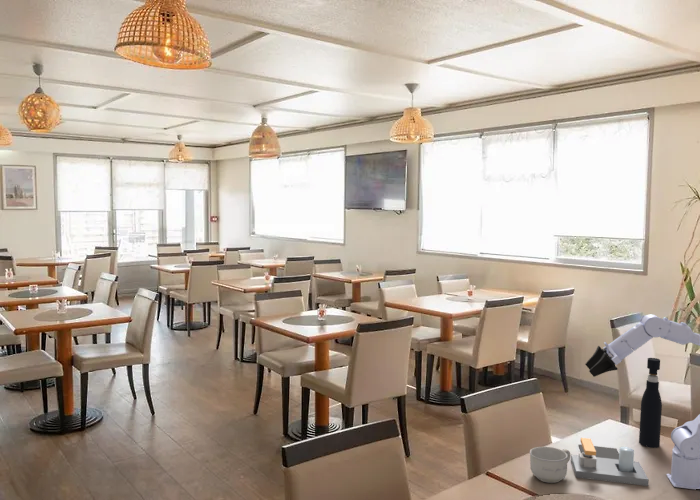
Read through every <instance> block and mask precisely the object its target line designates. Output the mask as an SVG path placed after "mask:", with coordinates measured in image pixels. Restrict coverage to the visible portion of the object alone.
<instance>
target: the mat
mask: <svg viewBox="0 0 700 500" xmlns="http://www.w3.org/2000/svg"><path fill="white" fill-rule="evenodd" d="M578 447H579V452H580V453H582V452H584V450H583V447H582V444H578ZM594 448H595V450H596V457H600V458H609V459H618V460H619V450H618V449H617V448H616V447H605V446H597V445H594ZM584 453H585V452H584Z"/></svg>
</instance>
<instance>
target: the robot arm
mask: <svg viewBox="0 0 700 500" xmlns="http://www.w3.org/2000/svg"><path fill="white" fill-rule="evenodd" d="M653 338H661V339H662V340H663V339H664V340H666V341H669V342H673V343H676V344H678V345H683V346H684V345H688V344H689V343H690V344H693V345H696V346H699V347H700V333H696V332H694V331H693V330H692V328H691V327H690V325H688V323H686V322H683V321H681V322H676V321H673V320H669V318H668V317H666V316H664V317H663V318H662V317H659V316H657V315H656V314H653V313H652V314H651V313H650V314H645V315H642V316H641V317H640V319H639V322H638V323H637V324H635V325H634V326H632V327H631V328H629V329H628V330H627V331H625V332H623V333H622V334H621V335H619V336H618V337H617V338H615V339H614V340H613V341H612V342H610V343H607V342H606V341H604V342H603V344H604V345H605V346H603V347H602V348H601V346H600V345H598V346H597V347H596V350H595V351H594V353H593V355H592V356H590V358H589V359H588V360H587V361H586V362H585V364H584V365H585V366H586V367H587V368H588V372H589V373H590V375H592V376H593V377H594V378H595V377H598V376H600V375H603V374H605V373H608V372H611V371H618V370H619V368H618V367H617V365H619V364H620V363H622V362H623V360H624V359H625V358H627V357H629V355H631V354H632V353H633V352H634V353H635V352H636V351H637V350H638V349H639V348H641V347H642V346H644V345H645V344H646V343H648V342H649V341H650V340H652V339H653ZM670 439H671V441H672V442H673V444H674V445H673V448H672V450H671V452H672V453H671V468H670V469H671V470H670V473H666V475H665V476H666V477H667V479H668V480H669V481H670V483H671V485H672V486H673V487H674V488H678V489H679V488H680V489H681V488H682V489H687V490H688V489H689V490H696V489H700V413H699V414H698V415H697V416H696V417H695V418H694V419H693V420H689V421H686V422H684V424H682V425H680V426H677V427H675V428H674V429H672V431H671V433H670Z"/></svg>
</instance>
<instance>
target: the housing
mask: <svg viewBox="0 0 700 500" xmlns="http://www.w3.org/2000/svg"><path fill="white" fill-rule="evenodd" d="M570 455H571V457H570V461H571V462H570V463H571V465H572V468H573V471H574V476H575V478H579V479H588V480H595V481H602V482H603V481H604V482H612V483H619V484H628V485H636V486H637V485H638V486H643V487H648V486H649V480H650V479H649V478H648V476H647V474H646V472H645V470H644V469H643V466H642V465H641V463H640V461H636V460H635V461H634V460H633V473H631V472H622V471H618V467H619V460H618V459H609V458H600V457H596V456H595V455H591V457H590V458H588V457H585V453H584V452H582V453H581V452H578V454H571V453H570Z"/></svg>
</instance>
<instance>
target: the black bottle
mask: <svg viewBox="0 0 700 500" xmlns="http://www.w3.org/2000/svg"><path fill="white" fill-rule="evenodd" d="M646 365H647V366H646V369H647V370H648V375H647V377H646V378H647V380H646V383H645V390H644V391H643V394H642V396H641V400H640V415H639V431H638V432H639V435H638V443H639V444H640V445H641V446H643V447H645V448H648V449H649V448H650V449H658V448H659V447H660V445H661V427H662V411H663V409H662V408H663V403H662V397H661V394H660V391H659V387H660V386H659V385H660V383H659V376H658V371H659V370H661V369H660V368H661V359H659V358H656V357H648V358H647V364H646Z"/></svg>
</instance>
